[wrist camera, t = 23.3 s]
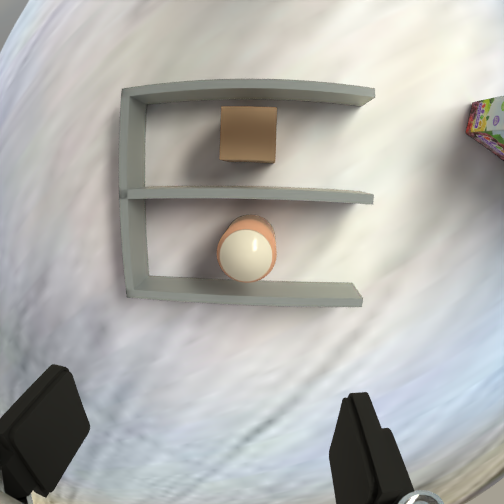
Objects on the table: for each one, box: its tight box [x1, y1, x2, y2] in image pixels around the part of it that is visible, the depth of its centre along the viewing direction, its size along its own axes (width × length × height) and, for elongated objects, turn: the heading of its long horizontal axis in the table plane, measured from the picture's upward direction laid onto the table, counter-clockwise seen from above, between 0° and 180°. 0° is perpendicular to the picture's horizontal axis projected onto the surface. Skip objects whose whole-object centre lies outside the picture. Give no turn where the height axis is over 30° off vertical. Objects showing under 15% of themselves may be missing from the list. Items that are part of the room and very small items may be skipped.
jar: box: [217, 214, 276, 283], centre depth 33 cm, size 6×6×8 cm
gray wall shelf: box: [119, 79, 375, 307], centre depth 33 cm, size 23×26×5 cm
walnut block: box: [220, 106, 277, 163], centre depth 30 cm, size 5×5×7 cm
